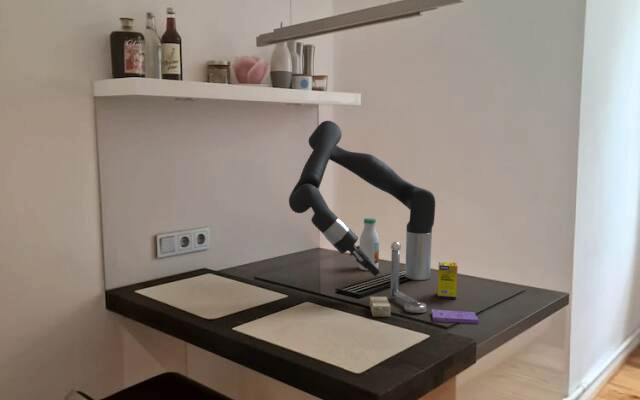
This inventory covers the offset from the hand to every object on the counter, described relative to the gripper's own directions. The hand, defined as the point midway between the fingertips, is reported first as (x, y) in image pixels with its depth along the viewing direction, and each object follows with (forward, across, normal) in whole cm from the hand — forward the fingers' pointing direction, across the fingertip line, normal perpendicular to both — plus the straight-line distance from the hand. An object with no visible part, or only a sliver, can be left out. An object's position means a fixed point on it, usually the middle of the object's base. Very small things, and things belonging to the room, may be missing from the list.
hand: (377, 273), depth 178 cm
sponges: (+20, +20, +8) cm, 29 cm away
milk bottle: (+7, -41, -5) cm, 42 cm away
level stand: (+5, +14, -6) cm, 16 cm away
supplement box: (+22, -3, +11) cm, 25 cm away
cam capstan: (+11, +7, 0) cm, 13 cm away
